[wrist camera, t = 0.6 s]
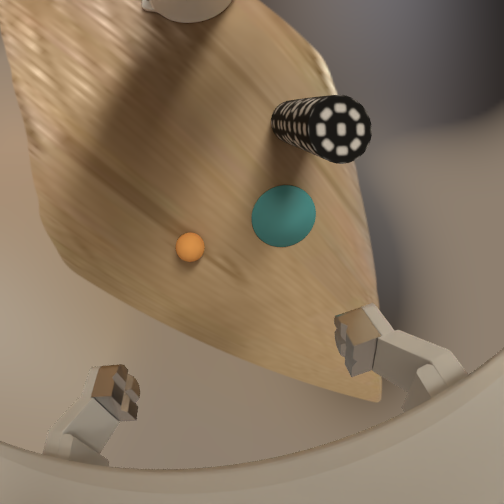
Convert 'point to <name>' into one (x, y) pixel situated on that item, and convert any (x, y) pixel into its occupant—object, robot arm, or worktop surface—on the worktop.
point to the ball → (190, 247)
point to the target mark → (283, 216)
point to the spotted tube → (324, 126)
